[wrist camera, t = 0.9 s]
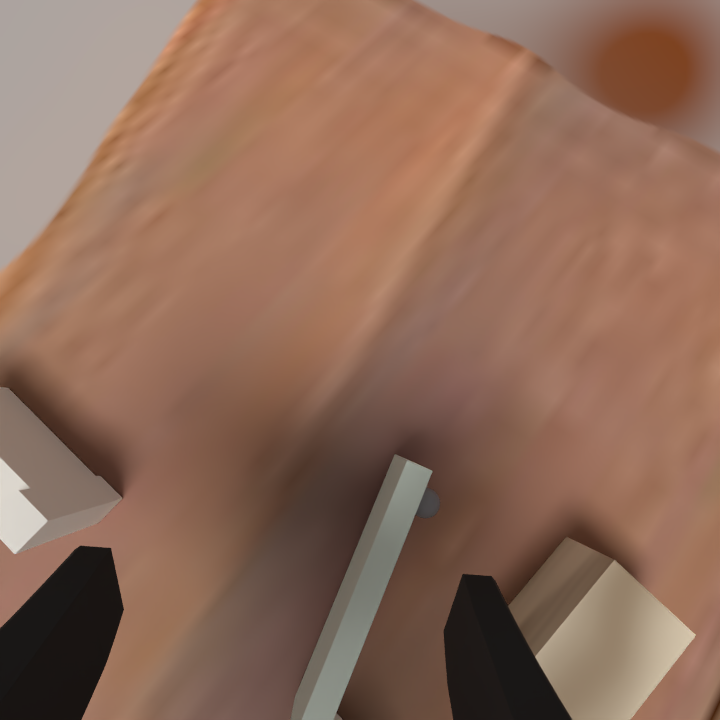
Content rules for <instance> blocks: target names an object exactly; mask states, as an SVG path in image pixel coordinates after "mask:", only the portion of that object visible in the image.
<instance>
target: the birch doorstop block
mask: <svg viewBox="0 0 720 720" xmlns="http://www.w3.org/2000/svg"><path fill="white" fill-rule="evenodd" d="M508 607H509V609H510V611H511V613H512V615H513V617H514V619H515V621H516V623H517V625H518V627H519V628H520V630H521V632H522V634H523V636H524V638H525V639H526V641H527V643H528V645H529V647H530V649H531V650H532V652H533V654H534V656H535V658H536V659H537V661H538V663H539V665H540V666H541V668H542V670H543V671H544V673H545V675H546V676H547V678H548V680H549V682H550V683H551V685H552V687H553V688H554V690H555V692H556V693H557V695H558V697H559V699H560V700H561V702H562V703H563V705H564V707H565V708H566V710H567V712H568V713H569V715H570V716H571V718H572V720H630V719H631V718H632V717H633V716H634V714H635V713H636V712H637V710H638V709H639V708H640V707H641V705H642V704H643V703H644V701H645V700H646V699H647V698H648V696H649V695H650V694H651V692H652V691H653V690H654V689H655V687H656V686H657V685H658V683H659V682H660V681H661V680H662V678H663V677H664V676H665V674H666V673H667V672H668V671H669V669H670V668H671V667H672V665H673V664H674V663H675V662H676V660H677V659H678V658H679V656H680V655H681V654H682V653H683V651H684V650H685V649H686V647H687V646H688V645H689V644H690V642H691V641H692V640H693V638H694V637H695V636H696V635H695V634H694V633H693V632H692V631H691V630H690V629H689V628H688V627H687V626H685V625H684V624H683V623H682V622H681V621H680V620H679V619H678V618H677V617H676V616H675V615H674V614H672V613H671V612H670V611H669V610H668V609H667V608H666V607H665V606H664V605H663V604H662V603H661V602H660V601H658V600H657V599H656V598H655V597H654V596H653V595H652V594H651V593H650V592H649V591H648V590H647V589H645V588H644V587H643V586H642V585H641V584H640V583H639V582H638V581H637V580H636V579H635V578H634V577H633V576H631V575H630V574H629V573H628V572H627V571H626V570H625V569H624V568H623V567H622V566H621V565H620V564H618V563H617V562H616V561H615V560H614V559H612V558H610V557H608V556H606V555H604V554H601V553H599V552H597V551H595V550H593V549H591V548H589V547H587V546H585V545H583V544H581V543H579V542H577V541H575V540H572V539H570V538H568V537H566V538H565V539H564V540H563V541H562V542H561V544H560V545H559V546H558V547H557V548H556V550H555V551H554V552H553V553H552V554H551V556H550V557H549V558H548V559H547V560H546V561H545V563H544V564H543V565H542V566H541V567H540V569H539V570H538V571H537V572H536V573H535V575H534V576H533V577H532V578H531V579H530V581H529V582H528V583H527V584H526V585H525V586H524V588H523V589H522V590H521V591H520V592H519V594H518V595H517V596H516V597H515V598H514V600H513V601H512V602H511V603H510V604H509V606H508Z"/></svg>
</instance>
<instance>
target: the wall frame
mask: <svg viewBox="0 0 720 720" xmlns="http://www.w3.org/2000/svg"><path fill="white" fill-rule="evenodd" d="M122 499H123V498H122V497H121V496H120V495H119V494H118V493H117V492H116V491H115V490H114V489H113V488H112V487H111V486H110V485H109V484H108V483H107V482H106V481H105V480H104V479H103V478H102V477H101V476H95V475H94V474H93V473H92V472H91V471H90V470H89V469H88V468H87V467H86V466H85V465H84V464H83V463H82V462H81V461H80V460H79V459H78V458H77V457H76V456H75V455H74V454H73V453H72V452H71V451H70V450H69V449H68V448H67V447H66V445H65V444H64V443H63V442H62V441H61V440H60V439H59V438H58V437H57V436H56V435H55V434H54V433H53V432H52V431H51V430H50V429H49V428H48V427H47V426H46V425H45V424H44V423H43V422H42V421H41V420H40V419H39V418H38V417H37V416H36V415H35V414H34V413H33V412H32V411H31V410H30V409H29V408H28V407H27V406H26V405H25V404H24V403H23V402H22V401H21V400H20V399H19V398H18V397H17V396H16V395H15V394H14V393H13V392H12V391H11V390H10V389H9V388H5V387H0V539H1V540H2V541H3V542H4V543H5V544H6V545H7V547H8V548H9V549H10V550H11V551H12V552H13V553H14V554H17V553H20V552H22V551H25V550H28V549H30V548H33V547H36V546H38V545H41V544H44V543H46V542H49V541H52V540H54V539H57V538H60V537H62V536H65V535H68V534H71V533H73V532H76V531H79V530H81V529H84V528H87V527H89V526H92V525H95V524H97V523H99V522H100V521H101V520H102V519H103V518H104V517H105V516H106V515H107V514H108V513H109V512H110V511H111V510H112V509H113V508H114V507H115V506H116V505H117V504H118V503H119V502H120V501H121V500H122ZM334 720H343V719H342V718H341V717H340V716H339V715H338V714H337V713H336V715H335V717H334Z"/></svg>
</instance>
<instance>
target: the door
mask: <svg viewBox="0 0 720 720" xmlns="http://www.w3.org/2000/svg"><path fill="white" fill-rule="evenodd" d="M431 474H432V470H429V469H427V468H425V467H423V466H421V465H419V464H417V463H415V462H412V461H410V460H408V459H405V458H403V457H401V456H398V455H396V454H395V455H394V457H393V460H392V462H391V464H390V467H389V469H388V472H387V474H386V477H385V479H384V481H383V484H382V486H381V489H380V491H379V494H378V496H377V498H376V501H375V503H374V506H373V508H372V511H371V513H370V515H369V518H368V520H367V523H366V525H365V528H364V530H363V533H362V535H361V537H360V540H359V542H358V545H357V547H356V550H355V552H354V554H353V557H352V559H351V562H350V564H349V567H348V569H347V571H346V574H345V576H344V579H343V581H342V584H341V586H340V588H339V591H338V593H337V596H336V598H335V601H334V603H333V606H332V608H331V610H330V613H329V615H328V618H327V620H326V623H325V625H324V627H323V630H322V632H321V635H320V637H319V640H318V642H317V644H316V647H315V649H314V652H313V654H312V657H311V659H310V661H309V664H308V666H307V669H306V671H305V674H304V676H303V679H302V681H301V683H300V686H299V688H298V691H297V693H296V696H295V699H294V704H293V709H292V715H291V720H334V717H335V715H336V712H337V710H338V707H339V705H340V702H341V700H342V697H343V695H344V692H345V690H346V687H347V685H348V682H349V680H350V677H351V675H352V672H353V670H354V667H355V664H356V662H357V659H358V657H359V654H360V652H361V649H362V647H363V644H364V642H365V639H366V637H367V634H368V632H369V629H370V627H371V624H372V622H373V619H374V617H375V614H376V612H377V609H378V607H379V604H380V602H381V599H382V597H383V594H384V592H385V589H386V587H387V584H388V582H389V579H390V577H391V574H392V572H393V569H394V567H395V564H396V562H397V559H398V557H399V554H400V552H401V549H402V547H403V544H404V542H405V539H406V537H407V534H408V532H409V529H410V527H411V524H412V522H413V519H414V517H415V514H416V515H417V516H419V517H421V518H430V517H432V516H434V515H435V514H436V513H437V512H438V510H439V507H440V499H439V497H438V495H437V493H436V492H435V491H434V490H432V489H430V488H426V486H427V484H428V481H429V479H430V476H431Z"/></svg>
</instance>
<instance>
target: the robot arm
mask: <svg viewBox="0 0 720 720" xmlns="http://www.w3.org/2000/svg"><path fill="white" fill-rule="evenodd" d="M123 610H124V608H123V603H122V598H121V594H120V589H119V584H118V579H117V575H116V570H115V565H114V560H113V556H112V551H111V548H102V547H89V546H79V547H78V548H76V549H75V550H74V551H73V552H72V553H71V554H70V556H69V557H68V558H67V559H66V560H65V561H64V562H63V563H62V564H61V565H60V566H59V567H58V569H57V570H56V571H55V572H54V573H53V574H52V575H51V576H50V577H49V578H48V579H47V580H46V581H45V583H44V584H43V585H42V586H41V587H40V588H39V589H38V590H37V591H36V592H35V593H34V594H33V595H32V596H31V597H30V598H29V599H28V600H27V601H26V603H25V604H24V605H23V606H22V607H21V608H20V609H19V610H18V611H17V612H16V613H15V614H14V615H13V616H12V617H11V618H10V619H9V620H8V621H7V622H6V623H5V624H4V625H3V626H2V627H1V628H0V720H81V719H82V717H83V715H84V713H85V710H86V708H87V706H88V704H89V701H90V699H91V697H92V695H93V692H94V690H95V688H96V686H97V683H98V681H99V679H100V677H101V674H102V672H103V670H104V667H105V665H106V662H107V660H108V657H109V654H110V651H111V648H112V645H113V642H114V639H115V636H116V633H117V629H118V626H119V623H120V620H121V617H122V614H123ZM444 643H445V658H446V671H447V683H448V690H449V696H450V702H451V708H452V714H453V720H572V718H571V716H570V715H569V713H568V712H567V710H566V708H565V707H564V705H563V703H562V702H561V700H560V699H559V697H558V695H557V693H556V692H555V690H554V688H553V687H552V685H551V683H550V682H549V680H548V678H547V676H546V675H545V673H544V671H543V670H542V668H541V666H540V665H539V663H538V661H537V659H536V658H535V656H534V654H533V652H532V650H531V649H530V647H529V645H528V643H527V641H526V639H525V638H524V636H523V634H522V632H521V630H520V628H519V627H518V625H517V623H516V621H515V619H514V617H513V615H512V613H511V611H510V609H509V607H508V605H507V603H506V601H505V599H504V597H503V595H502V593H501V591H500V589H499V587H498V585H497V583H496V581H495V580H494V579H493V577H492V576H481V575H468V574H463V575H462V578H461V581H460V584H459V587H458V590H457V593H456V596H455V599H454V602H453V605H452V608H451V611H450V614H449V617H448V620H447V623H446V626H445V629H444Z"/></svg>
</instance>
